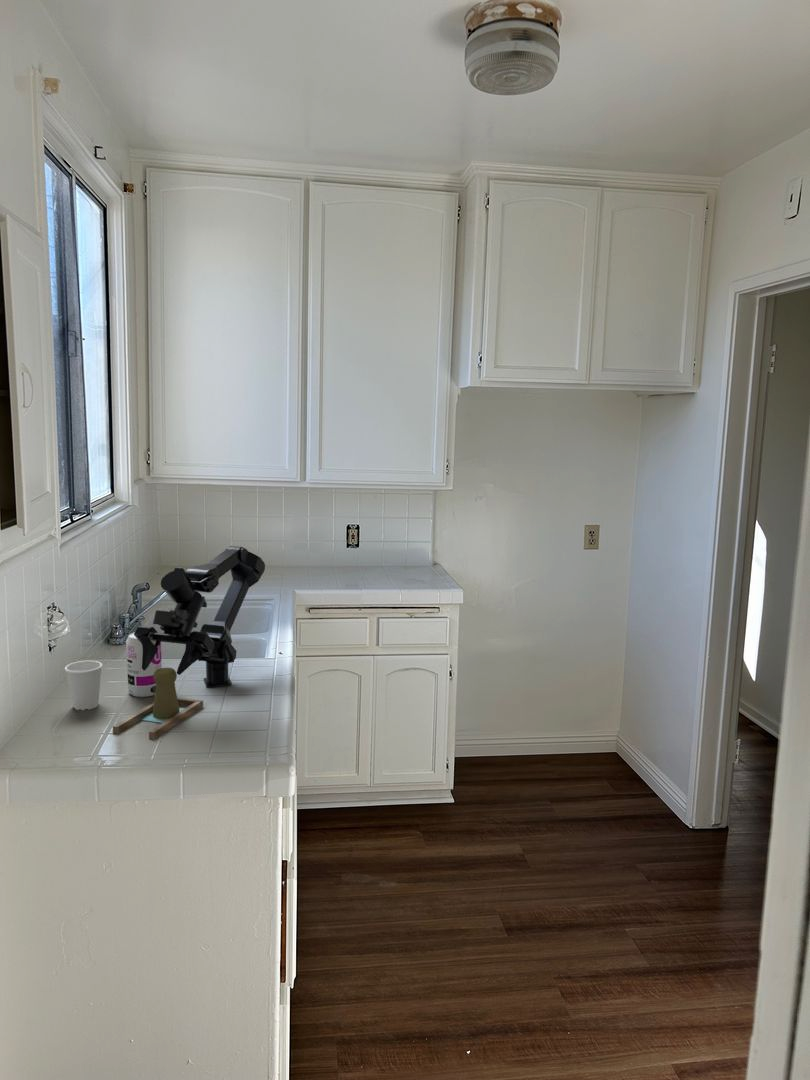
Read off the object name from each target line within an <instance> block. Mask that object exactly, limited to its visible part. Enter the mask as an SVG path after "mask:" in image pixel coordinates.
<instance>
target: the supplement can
mask: <svg viewBox="0 0 810 1080" xmlns="http://www.w3.org/2000/svg"><path fill="white" fill-rule="evenodd" d="M134 633H135V631H134V632H131V633H129V634H128V637H127V639H126V641H125V647H126V650H125V651H126V668H127V670H126V671H127V689H128V691H127V692H128V693H129V694H131V695H132V696H133V697H137V698H148V697H152V696H155V689H156V683H155V682H154V679H153V675H154V672H155V671H156V670H157V669H160V668H163V667H162V666H163V663H162V642H161V643H160V645H159V646H157V648H158V651H157V653H156V654H155V656H154V658H153V659H152V661H151V663H150V664H149V666H148V667H147V669H146V670H143V669H142V656H143V648H142V643H141V642H140V641H139V640H138V639H137V638H136V637H135V636H134ZM131 695H130V696H131Z"/></svg>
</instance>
